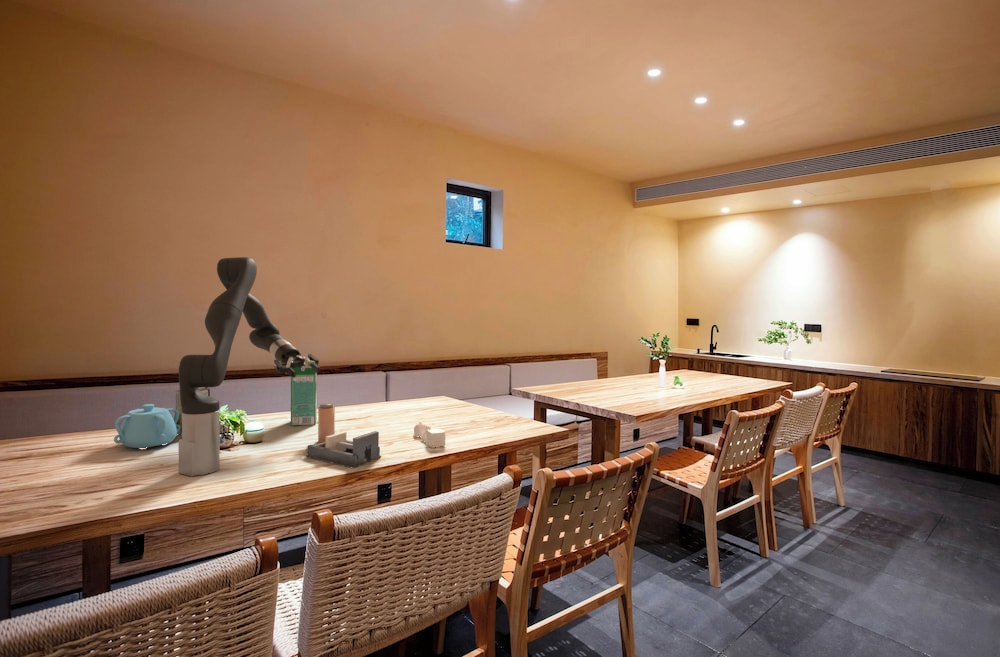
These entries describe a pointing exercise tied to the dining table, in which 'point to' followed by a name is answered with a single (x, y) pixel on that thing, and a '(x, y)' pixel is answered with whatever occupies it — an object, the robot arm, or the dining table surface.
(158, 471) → the dining table surface
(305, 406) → the milk carton
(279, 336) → the robot arm
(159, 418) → the decorative pot
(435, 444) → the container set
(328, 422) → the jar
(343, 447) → the pusher
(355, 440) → the grey holder
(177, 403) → the coffee box
